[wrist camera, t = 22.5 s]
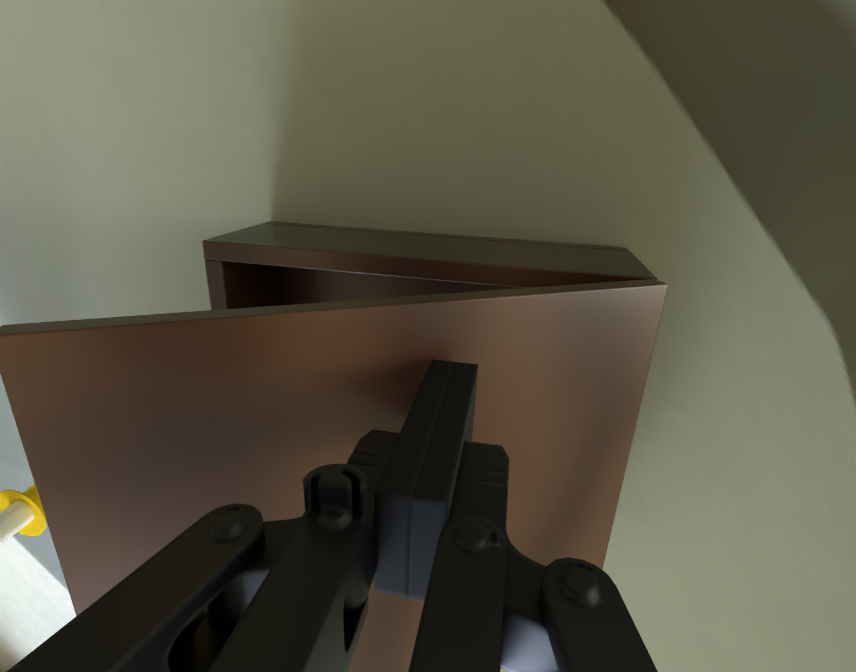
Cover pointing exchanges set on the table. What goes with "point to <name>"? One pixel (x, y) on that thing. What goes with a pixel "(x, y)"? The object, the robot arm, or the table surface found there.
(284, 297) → the chest
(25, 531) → the candle
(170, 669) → the robot arm
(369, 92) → the table surface
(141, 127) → the table surface
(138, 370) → the lid
